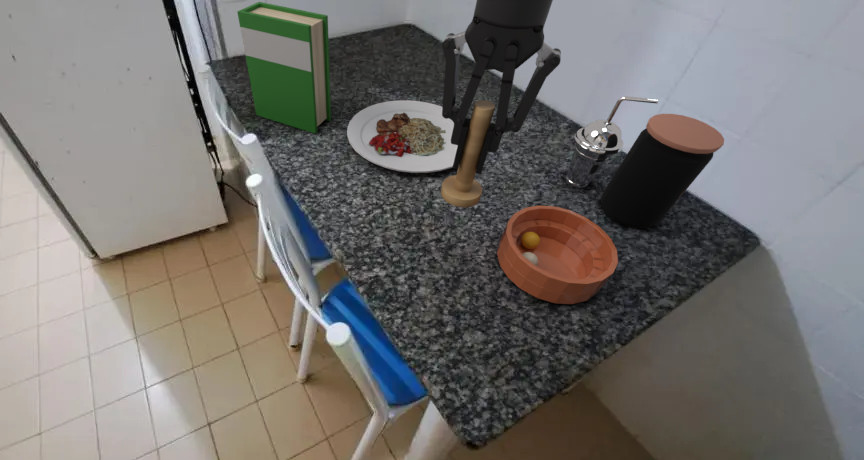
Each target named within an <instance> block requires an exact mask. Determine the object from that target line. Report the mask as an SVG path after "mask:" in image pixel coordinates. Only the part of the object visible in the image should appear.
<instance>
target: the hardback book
mask: <svg viewBox="0 0 864 460" xmlns="http://www.w3.org/2000/svg"><path fill="white" fill-rule="evenodd" d="M236 13H237V17H238V24H239V28H240V29H239V30H240V34H241V39H242V46H243V49H244V55H245V61H246V67H247V71H248V76H249V82H250V87H251V94H252V99H253V104H254V109H255V114H256V116H259V117H261V118H264V119H268V120H271V121H274V122H277V123H281V124H283V125H287V126H290V127H293V128H295V129H296V128H297V129H299V130H302V131H306V132H309V133H312V134H315V135H316V134H317V133H318V127H319V126H320V125H321V124H322V123H323V122H324V121H327V122H330V121H331V120H332V107H331V103H332V102H331V77H330V75H331V74H330V45H329V17H328V15H327V14H322V13H318V12H313V11H307V10H303V9H298V8H294V7H293V8H292V7H287V6H283V5H278V4H272V3H267V2H262V1H258V2H255V3H254V4H250V5H248V6H246V7H244V8H242V9H240V10H237V12H236Z"/></svg>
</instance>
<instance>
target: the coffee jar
mask: <svg viewBox="0 0 864 460" xmlns="http://www.w3.org/2000/svg"><path fill="white" fill-rule="evenodd" d="M724 143H725V138H724V137H723V134H722V133H721V132H719V130H718V129H716V128H715V127H713V126H711V125H710V124H708V123H706V122H704V121H703V120H702V121H701V120H699V119H697V118H694V117H691V116H686V115H682V114H677V113H659V114H654V115H653V116H651V117H649V119H648V121H647V124H646V126H645V128H644V129H643V130H642V131H640V133H639V134H638V136H637V137H636V139H635V141H634V142H633V144H632V146H631V147H630V149H629V150H628V152H627V153H626V155H625V157H624V158H623V160H622V161H621V163H620V165H619V166H618V168H617V169H616V171H615V173H614V174H613V176H612V177H611V179H610V180H609V182H608V184H607V185H606V187H605V189H604V190H603V191H602V194H601V196H600V204H601V205H600V206H601V209H602V211H603V212H604V214H605V215H606V216H607V217H608V218H609V219H610V220H612V221H615V222H616V223H618V224H619V225H622V226H625V227H629V228H633V229H646V228H650V227H653V226H655V225H657V224H659V223H660V222H661V221H662V220H663V219H664V218H665V216H666V215H667V214H668V212H669V211H670V210H671V209H672V208H673V207H674V206H675V204H676V203H677V202H678V201H679V199H680V198H681V197H682V195H684V193H685V192H686V191H687V190H688V189H689V187H690V186H691V185H692V183H693V182H694V181H695V180H696V179H697V178H698V176H699V175H700V174H701V173H702V171H704V169H705V168H706V167H707V165H708V164H709V163H710V162H711V161H712V159H713V158H714V153H716V152H717V151H718V150H720V149H721V148H722V147H723V146H724Z"/></svg>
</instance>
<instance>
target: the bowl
mask: <svg viewBox="0 0 864 460" xmlns="http://www.w3.org/2000/svg"><path fill="white" fill-rule="evenodd" d="M527 232H534V233H536V234H537V235H538V236H539V238H540V243H539V245H538V246H537V247H536V248H534V249H527V248H525V247H524V246H523V245H522V243H521V238H522V236H523V235H524V234H525V233H527ZM525 252H531V253H533V254H535V255H536V256H537V258H538V265H537V266H535V265H534V264H533V263H531V262H530V261H529V260H528V259H527V258H525V257H524V256H523V255H522V254H523V253H525ZM496 255H497V260H498V263H499V266H500V268H501V270H502V271H503V272H504V274H505V276H506V277H507V279H509V280H510V281H511V283H513V284H514V285H515V286H517V287H518V289H520V290H522V291H524V292H525V293H527V294H528V295H531V296H532V297H534V298H536V299H539V300H542V301H546V302H548V303H551V304H558V305H559V304H560V305H574V304H579V303H582V302H583V303H584V302H587V301H589V300H590V299H591V298H593V297H594V296H595V295H597V294H598V292H600V290H601V289H602V288H603V286H604V285H605V284H606V283H607V281H608V280H609V279H610V278H611V276H613V274H614V272H615V270H616V268H617V266H618V265H619V257H618V249H617V247H616V246H615V244H614V242H613V240H612V238H611V237H610V235H608V234H607V233H606V231H604V229H602V227H600V226H599V225H598V224H596V223H595V222H594V221H592V220H590V219H589V218H588V217H586V216H584V215H582V214H580V213H577V212H575V211H572V210H570V209H568V208H564V207H559V206H555V205H533V206H528V207H523V208H522V209H520V210H518V211H516V212H515V213H513V214H512V216H511V217H510V218H509V219H508V221H507V223H506V225H505V227H504V230H503V232H502V234H501V237H500V239H499V241H498V246H497V251H496Z"/></svg>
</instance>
